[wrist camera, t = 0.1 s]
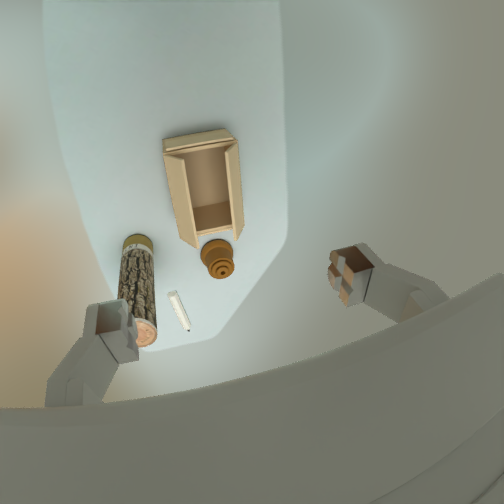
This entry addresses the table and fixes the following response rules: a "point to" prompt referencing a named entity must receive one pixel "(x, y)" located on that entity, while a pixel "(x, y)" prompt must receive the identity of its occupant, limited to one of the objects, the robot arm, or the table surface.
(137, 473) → the robot arm
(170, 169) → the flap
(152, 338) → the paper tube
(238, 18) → the table surface
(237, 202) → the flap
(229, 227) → the carton
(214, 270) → the ornamental finial
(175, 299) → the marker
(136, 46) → the table surface
